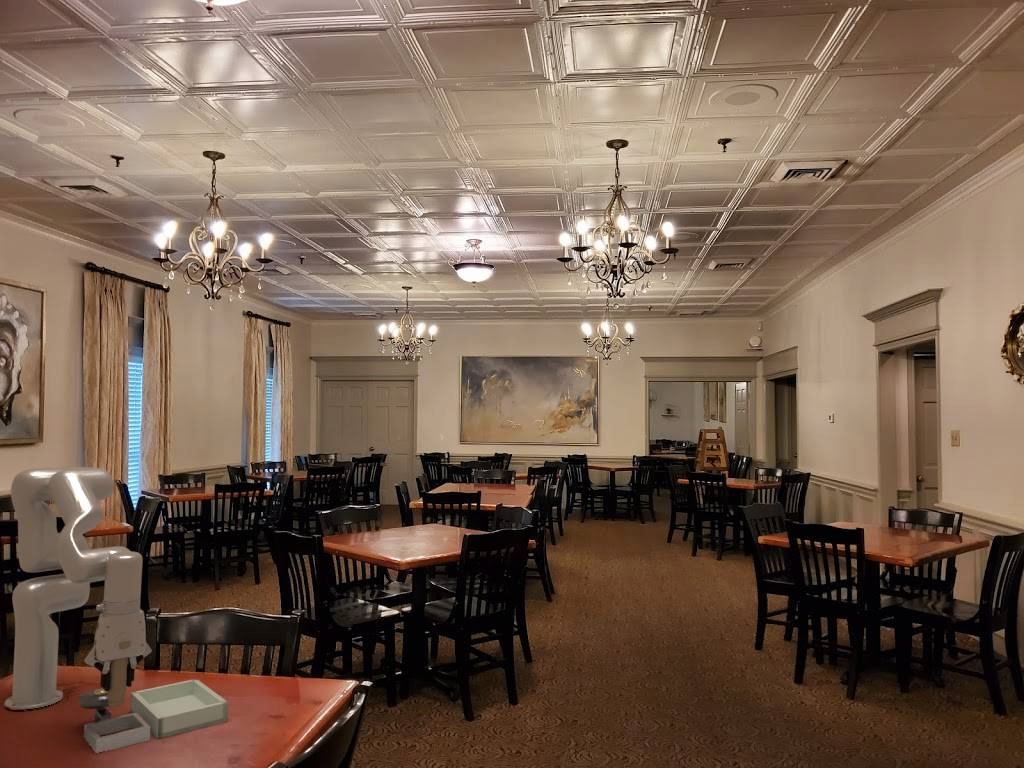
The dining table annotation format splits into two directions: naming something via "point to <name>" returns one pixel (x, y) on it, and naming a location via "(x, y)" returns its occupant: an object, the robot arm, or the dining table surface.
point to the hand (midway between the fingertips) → (117, 686)
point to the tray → (179, 707)
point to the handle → (118, 679)
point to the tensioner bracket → (111, 724)
